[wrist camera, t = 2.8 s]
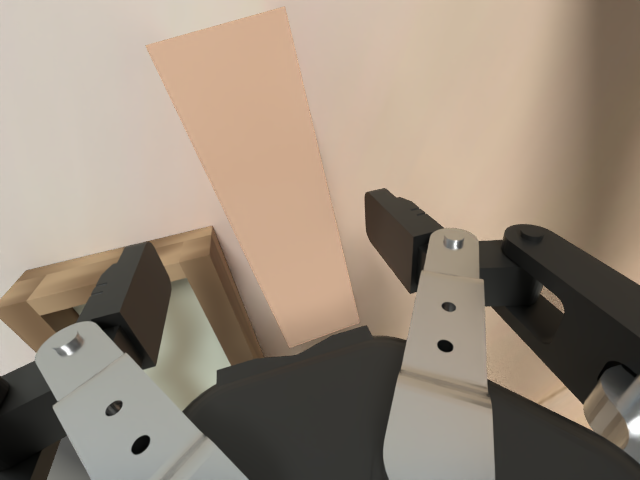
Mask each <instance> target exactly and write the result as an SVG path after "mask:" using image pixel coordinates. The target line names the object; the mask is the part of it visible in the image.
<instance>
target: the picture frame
mask: <svg viewBox="0 0 640 480" xmlns="http://www.w3.org/2000/svg"><path fill="white" fill-rule="evenodd" d="M147 242H151V243H152V244H153V246H154V247H155V249H156V251H157V253H158V255H159V257H160V259H161V261H162V263H163V265H164V267H165V269H166V271H167V273H168V275H169V278H170V281H171V288H172V291H171V296H170V301H169V306H168V311H167V316H166V321H165V326H164V330H163V335H162V340H161V345H160V350H159V355H158V359H157V364H156V366H155V367H152V368H148V369H145V370H143V371H144V372H145V373H146V374H147V375H148V376H149V377H150V378H151V379H152V380H153V381H154V383H155V384H156V385H157V386H158V387H159V388H160V389H161V390H162V391H163V392H164V393H165V394H166V395H167V396H168V397H169V398H170V400H171V401H172V402H173V403H174V404H175V405H176V406H177V407H178V408H179V409H180V410H181V411H183V410H184V409H185V408H186V407H187V406H188V405H189V404H190V403H191V402H192V401H193V400H194V399H195V398H196V397H198V396H199V395H200V394H201V393H203V392H204V391H206V390H207V389H209V388H210V387H211V386H213V385H215V384H216V379H217V370H219V369H222V368H226V367H229V366H232V365H236V364H239V363H242V362H246V361H249V360H252V359H256V358H264V356H263V353H262V351H261V348H260V346H259V343H258V341H257V338H256V336H255V333H254V331H253V328H252V326H251V323H250V320H249V318H248V315H247V313H246V310H245V308H244V305H243V303H242V300H241V298H240V295H239V293H238V290H237V288H236V285H235V283H234V280H233V277H232V275H231V272H230V270H229V267H228V265H227V262H226V260H225V257H224V255H223V252H222V250H221V247H220V245H219V242H218V239H217V237H216V234H215V232H214V229H213V227H212V226H209V227H205V228H201V229H197V230H193V231H189V232H184V233H180V234H176V235H172V236H168V237H164V238H160V239H155V240H151V241H147ZM143 243H144V242H143ZM130 246H131V245H130ZM124 248H125V247H122V248H118V249H114V250H110V251H105V252H101V253H97V254H93V255H89V256H85V257H81V258H76V259H72V260H68V261H64V262H60V263H56V264H51V265H47V266H43V267H39V268H35V269H31V270H26V271H25V272H24V273H23V274H22V276H21V277H20V278H19V279H18V280H17V281H16V282H15V283H14V285H13V286H12V287H11V288H10V289H9V290H8V291H7V292H6V294H5V295H4V296H3V297H2V298H1V299H0V319H1V320H2V321H3V322H4V323H5V324H6V325H7V326H8V327H10V328H11V329H12V330H13V331H14V332H15V333H16V334H17V335H18V336H19V337H20V338H21V339H22V340H23V341H24V342H25V343H27V344H28V345H29V346H30V347H31V348H32V349H33V350H34V351H35V352H36V353H37V351H38V350H39V348H40V347H41V346H42V345H43V343H44V342H45V341H47V340H48V339H49V338H50V337H51V336H53V335H54V334H55V333H57V332H58V331H60V330H62V329H64V328H66V327H68V326H70V325H73V324H75V323H76V321H77V320H78V318H79V316H80V314H81V312H82V310H83V308H84V306H85V304H86V303H87V301H88V299H89V297H90V296H91V293H92V291H93V289H94V288H95V287H96V284H97V282H98V280H99V278H100V276H101V275H102V274H103V273H104V272H105V271H106V270H107V269H108V268H109V267H110V266H111V265H112V264H115V263H117V262H118V260H119V258H120V256H121V254H122V252H123V250H124Z"/></svg>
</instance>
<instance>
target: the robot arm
mask: <svg viewBox="0 0 640 480" xmlns="http://www.w3.org/2000/svg"><path fill="white" fill-rule="evenodd" d="M365 221H366V232H367V235H368V238H369V240H370V242H371V243H372V245H373V246H374V247H375V249H376V250H377V251H378V252H379V254H380V255H381V256H382V258H383V259H384V260H385V262H386V263H387V264H388V266H389V267H390V268H391V269H392V271H393V272H394V273H395V275H396V276H397V277H398V279H399V280H400V281H401V283H402V284H403V285H404V287H405V288H406V289H407V290H408V292H409V293H410V294H411V293H414V292H417V294H416V299H415V304H414V309H413V313H412V318H411V323H410V328H409V333H408V338H407V340H404V339H400V338H396V337H389V336H372V335H371V333H370V331H369V329H368V327H367V325H366V326H362V327H359V328H356V329H352V330H349V331H346V332H342V333H339V334H336V335H332V336H330V337H329V338H327V339H325V340H323V341H321V342H320V343H318V344H316V345H314V346H313V347H311V348H309V349H307V350H305V351H304V352H302V353H300V354H298V355H294V356H282V357H269V358H256V359H252V360H249V361H246V362H242V363H239V364H236V365H232V366H229V367H226V368H222V369H219V370H217V379H216V384H215V385H213V386H211V387H210V388H209V389H207V390H206V391H204V392H203V393H201V394H200V395H199V396H198V397H196V398H195V399H194V400H193V401H192V402H191V403H190V404H189V405H188V406H187V407H186V408H185V409H184V410H183V411H181V410H180V409H179V408H178V407H177V406H176V405H175V404H174V403H173V402H172V401H171V400H170V398H169V397H168V396H167V395H166V394H165V393H164V392H163V391H162V390H161V389H160V388H159V387H158V386H157V385H156V384H155V383H154V381H153V380H152V379H151V378H150V377H149V376H148V375H147V374H146V373H145V372H144V371H143V370H145V369H148V368H152V367H155V366H156V364H157V359H158V355H159V350H160V345H161V340H162V335H163V330H164V326H165V321H166V316H167V311H168V306H169V301H170V296H171V291H172V288H171V281H170V278H169V275H168V273H167V271H166V269H165V267H164V265H163V263H162V261H161V259H160V257H159V255H158V253H157V251H156V249H155V247H154V246H153V244H152V243H151V242H144V243H139V244H135V245H131V246H126V247H125V248H124V250H123V252H122V254H121V256H120V258H119V260H118V262H117V263H115V264H112V265H111V266H110V267H109V268H108V269H107V270H106V271H105V272H104V273H103V274H102V275H101V276H100V278H99V280H98V282H97V284H96V287H95V288H94V289H93V291H92V293H91V296H90V297H89V299H88V301H87V303H86V304H85V306H84V308H83V310H82V312H81V314H80V316H79V318H78V320H77V321H76V323H75V324H73V325H70V326H68V327H66V328H64V329H62V330H60V331H58V332H57V333H55V334H54V335H53V336H51V337H50V338H49V339H48V340H47V341H45V342H44V343H43V345H42V346H41V347H40V348H39V350H38V351H37V353H36V356H35V361H33V362H31V363H29V364H27V365H25V366H23V367H21V368H18V369H16V370H14V371H12V372H10V373H8V374H6V375H3V376H0V480H47V477H48V474H49V471H50V469H51V466H52V463H53V460H54V457H55V454H56V451H57V449H58V446H59V443H60V440H61V439H62V438H64V437H65V436H68V437H69V439H70V441H71V443H72V445H73V447H74V448H75V450H76V452H77V454H78V456H79V458H80V460H81V462H82V463H83V465H84V467H85V469H86V471H87V473H88V474H89V476H90V478H91V480H640V285H638V284H637V283H635V282H634V281H632V280H630V279H629V278H627V277H625V276H624V275H622V274H620V273H619V272H617V271H616V270H614V269H612V268H611V267H609V266H607V265H606V264H604V263H602V262H601V261H599V260H598V259H596V258H594V257H593V256H591V255H589V254H588V253H586V252H584V251H583V250H581V249H580V248H578V247H576V246H575V245H573V244H571V243H570V242H568V241H566V240H565V239H563V238H562V237H560V236H558V235H557V234H555V233H553V232H552V231H550V230H548V229H545V228H543V227H540V226H535V225H528V224H518V225H513V226H510V227H508V228H507V229H506V230H505V233H504V237H503V240H493V241H478V239H477V237H476V236H475V235H473V234H472V233H470V232H468V231H465V230H462V229H457V228H443V227H442V226H441V225H440V224H439V223H437V222H436V221H435V220H434V219H432V218H431V217H430V216H429V215H428V214H425V212H424V211H423V210H421V209H419V207H418V206H416V205H415V204H414V203H413V202H412V201H409V200H406V199H404V198H401V197H398V198H396V197H395V196H394V195H393V194H391V193H390V192H389V191H388V190H387V189H385V188H383V189H378V190H374V191H370V192H366V194H365ZM543 285H544V286H545V287H546V288H547V289H549V290H550V291H551V292H552V293H554V294H555V295H556V296H557V297H558V298H559V299H560V300H561V302H562V304H563V306H564V311H565V313H564V314H563V313H562V312H561V311H560V310H558V309H557V308H556V307H555V306H554V305H553V304H551V303H550V302H549V301H548V300H547V299H545V298H544V297H543V296H542V295H541V294H540V293H541V290H542V287H543ZM485 306H491V307H492V308H493V309H494V310H495V311H496V312H497V313H498V314H499V315H500V316H501V317H502V319H503V320H504V321H505V322H506V323H507V324H508V325H509V326H510V327H511V328H512V329H513V330H514V331H515V332H516V333H517V335H518V336H519V337H520V338H521V339H522V340H523V341H524V342H525V343H526V344H527V345H528V346H529V347H530V348H531V349H532V350H533V352H534V353H535V354H536V355H537V356H538V357H539V358H540V359H541V360H542V361H543V362H544V363H545V364H546V365H547V366H548V368H549V369H550V370H551V371H552V372H553V373H554V374H555V375H556V376H557V377H558V378H559V379H560V380H561V381H562V382H563V384H564V385H565V386H566V387H567V388H568V389H569V390H570V391H571V392H572V393H573V394H574V395H575V396H576V397H577V398H578V399H579V401H580V402H581V403H582V404H583V405H584V407H583V410H584V415H585V417H586V420H587V422H588V423H589V425H590V427H591V428H592V429H593V431H592V430H590V429H588V428H586V427H584V426H582V425H580V424H578V423H576V422H574V421H571V420H569V419H567V418H565V417H563V416H561V415H559V414H557V413H555V412H553V411H551V410H549V409H547V408H545V407H543V406H541V405H539V404H537V403H535V402H533V401H531V400H529V399H527V398H525V397H523V396H521V395H519V394H517V393H515V392H512V391H510V390H508V389H506V388H504V387H502V386H500V385H498V384H496V383H494V382H492V381H490V380H488V379H487V357H486V327H485Z"/></svg>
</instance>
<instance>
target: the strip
mask: <svg viewBox="0 0 640 480" xmlns="http://www.w3.org/2000/svg"><path fill="white" fill-rule="evenodd" d="M145 46H146V48H147V50H148V52H149V54H150V56H151V58H152V60H153V63H154V65H155V67H156V69H157V71H158V73H159V75H160V77H161V79H162V81H163V84H164V86H165V88H166V90H167V92H168V94H169V96H170V98H171V100H172V102H173V105H174V107H175V109H176V111H177V113H178V115H179V117H180V119H181V121H182V123H183V126H184V128H185V130H186V132H187V134H188V136H189V138H190V140H191V142H192V144H193V147H194V149H195V151H196V153H197V155H198V157H199V159H200V161H201V163H202V165H203V168H204V170H205V172H206V174H207V176H208V178H209V180H210V182H211V184H212V187H213V189H214V191H215V193H216V195H217V197H218V199H219V201H220V203H221V205H222V208H223V210H224V212H225V214H226V216H227V218H228V220H229V222H230V224H231V226H232V229H233V231H234V233H235V235H236V237H237V239H238V241H239V243H240V245H241V247H242V250H243V252H244V254H245V256H246V258H247V260H248V262H249V264H250V266H251V268H252V271H253V273H254V275H255V277H256V279H257V281H258V283H259V285H260V287H261V289H262V292H263V294H264V296H265V298H266V300H267V302H268V304H269V306H270V308H271V310H272V313H273V315H274V317H275V319H276V321H277V323H278V325H279V327H280V329H281V331H282V334H283V336H284V338H285V340H286V342H287V344H288V346H289V348H292V347H295V346H297V345H300V344H303V343H306V342H308V341H311V340H314V339H317V338H319V337H322V336H325V335H328V334H330V333H333V332H336V331H339V330H341V329H344V328H347V327H350V326H352V325H355V324H358V323H360V320H359V316H358V312H357V308H356V304H355V299H354V295H353V291H352V287H351V283H350V278H349V274H348V270H347V266H346V262H345V257H344V253H343V249H342V245H341V240H340V236H339V232H338V228H337V224H336V219H335V215H334V211H333V207H332V203H331V198H330V194H329V190H328V186H327V182H326V177H325V173H324V169H323V165H322V160H321V156H320V152H319V148H318V144H317V139H316V135H315V131H314V127H313V123H312V118H311V114H310V110H309V106H308V102H307V97H306V93H305V89H304V85H303V80H302V76H301V72H300V68H299V64H298V59H297V55H296V51H295V47H294V43H293V38H292V34H291V30H290V26H289V22H288V17H287V13H286V9H285V6H284V7H281V8H277V9H274V10H270V11H267V12H263V13H259V14H256V15H252V16H249V17H245V18H242V19H238V20H235V21H231V22H227V23H224V24H220V25H217V26H213V27H210V28H206V29H202V30H199V31H195V32H192V33H188V34H185V35H181V36H177V37H174V38H170V39H167V40H163V41H160V42H156V43H152V44H149V45H145Z"/></svg>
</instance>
